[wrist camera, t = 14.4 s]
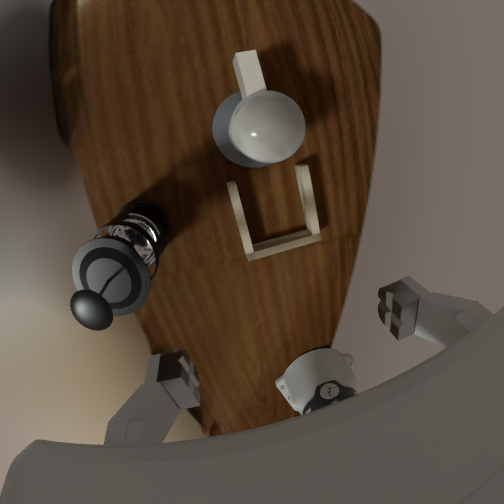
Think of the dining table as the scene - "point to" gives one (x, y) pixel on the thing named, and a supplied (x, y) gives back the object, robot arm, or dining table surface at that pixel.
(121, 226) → the french press
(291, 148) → the white handled cylinder
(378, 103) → the dining table surface
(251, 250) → the stand
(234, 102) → the mat
